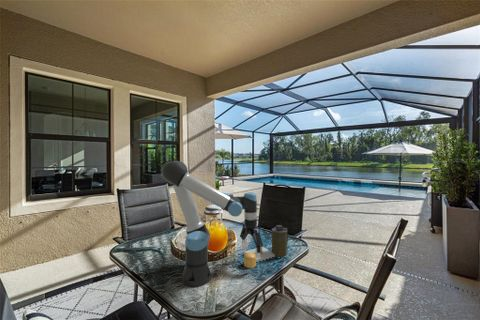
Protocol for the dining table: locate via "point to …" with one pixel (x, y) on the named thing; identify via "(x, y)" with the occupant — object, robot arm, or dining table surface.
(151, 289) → the dining table surface
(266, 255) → the board
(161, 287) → the dining table surface
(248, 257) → the tan wooden cylinder
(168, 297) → the dining table surface
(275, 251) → the canister
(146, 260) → the dining table surface
